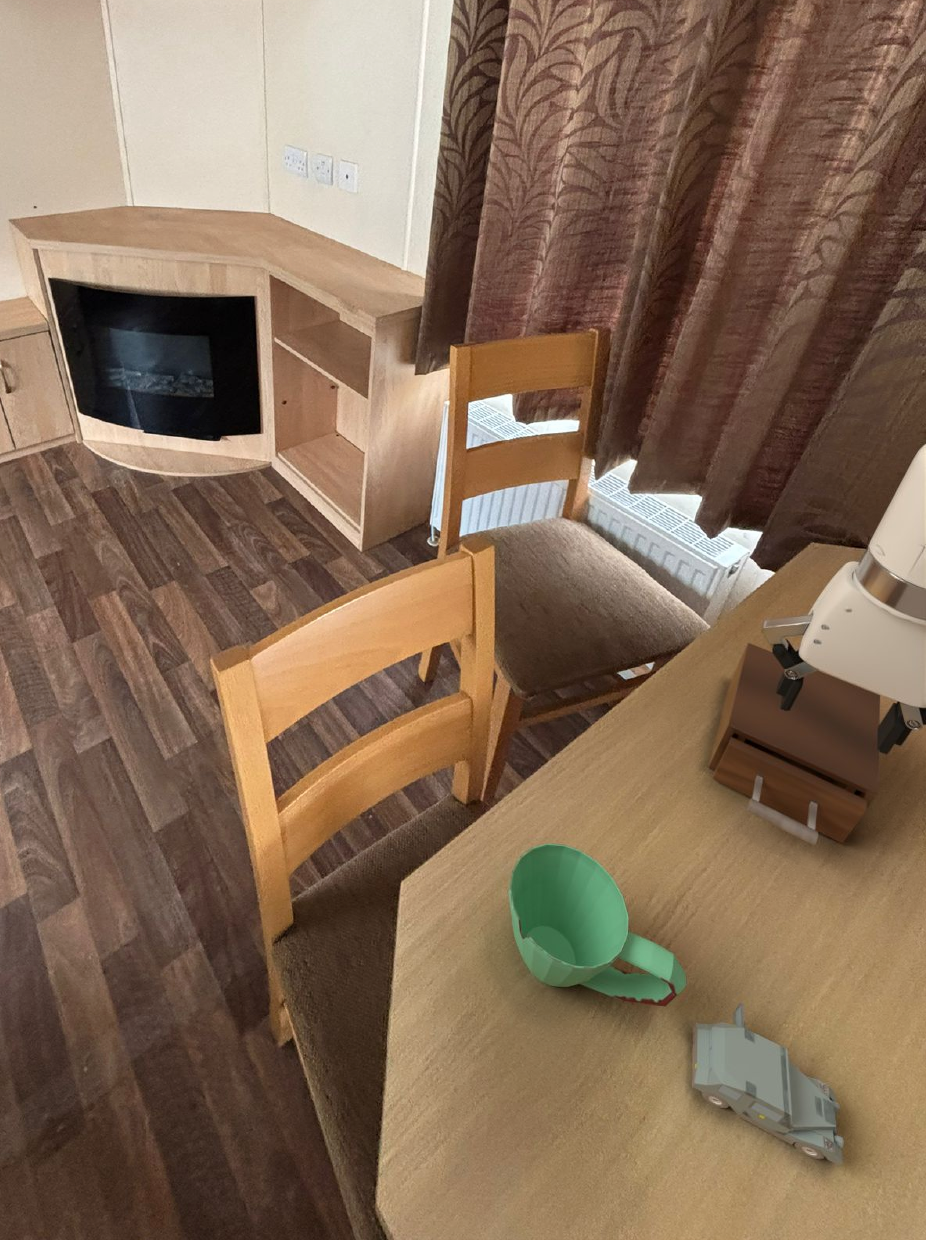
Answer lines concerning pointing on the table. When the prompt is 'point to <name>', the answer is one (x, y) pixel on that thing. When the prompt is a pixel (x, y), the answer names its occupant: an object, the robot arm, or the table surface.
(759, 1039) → the toy car
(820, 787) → the drawer
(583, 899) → the mug
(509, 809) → the table surface
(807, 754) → the cabinet
